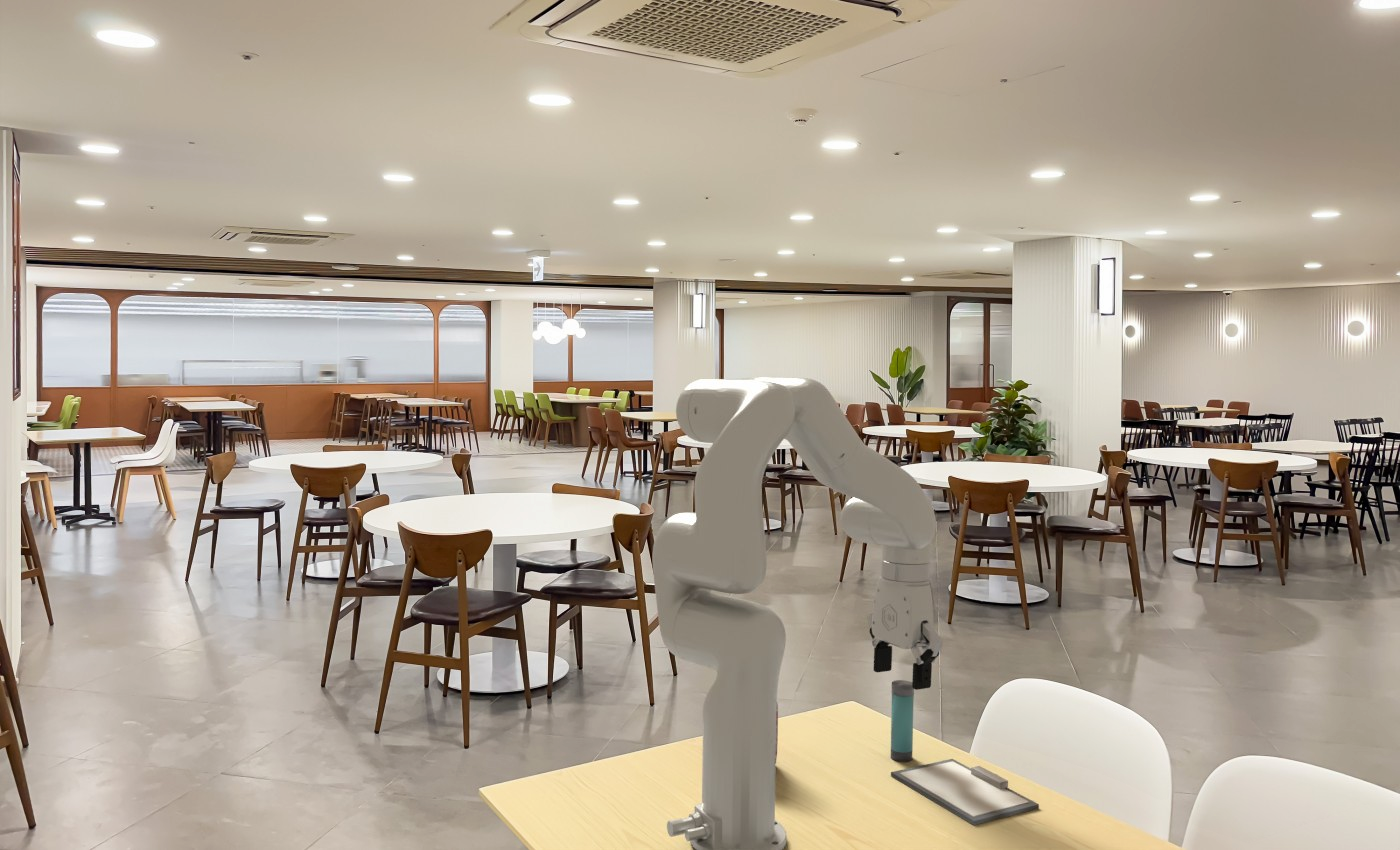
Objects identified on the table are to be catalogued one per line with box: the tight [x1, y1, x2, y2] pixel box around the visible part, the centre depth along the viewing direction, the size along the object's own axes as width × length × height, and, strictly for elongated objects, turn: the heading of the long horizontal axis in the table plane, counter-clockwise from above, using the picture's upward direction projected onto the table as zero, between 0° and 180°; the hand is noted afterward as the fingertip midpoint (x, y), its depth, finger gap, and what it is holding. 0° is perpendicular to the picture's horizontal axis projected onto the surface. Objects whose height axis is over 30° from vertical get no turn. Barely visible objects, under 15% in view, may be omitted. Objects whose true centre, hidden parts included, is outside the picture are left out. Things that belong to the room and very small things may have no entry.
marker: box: [890, 679, 915, 763], centre depth 156 cm, size 4×4×12 cm
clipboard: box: [890, 758, 1040, 826], centre depth 144 cm, size 12×18×2 cm, turn 27°
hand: (901, 679), depth 156 cm, fingers open, 9 cm apart
